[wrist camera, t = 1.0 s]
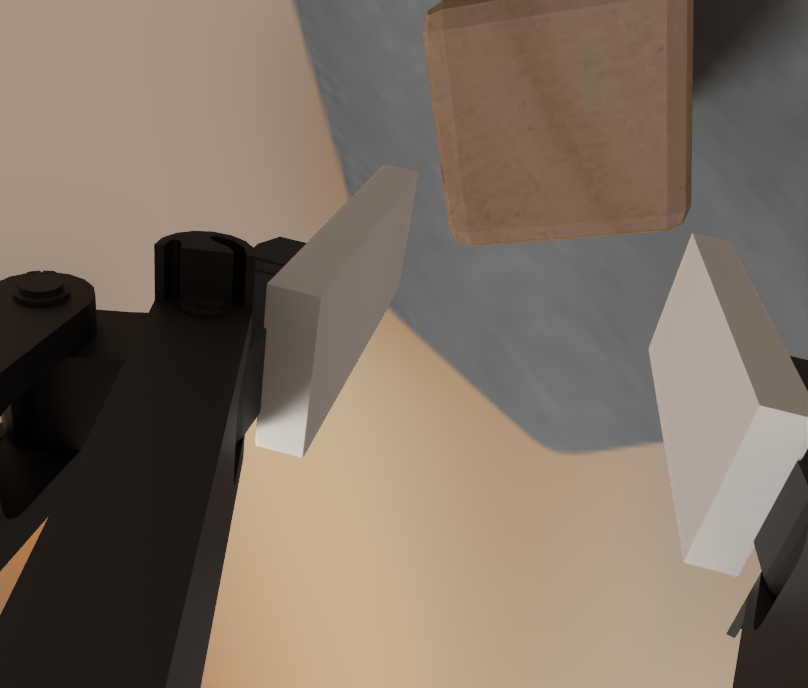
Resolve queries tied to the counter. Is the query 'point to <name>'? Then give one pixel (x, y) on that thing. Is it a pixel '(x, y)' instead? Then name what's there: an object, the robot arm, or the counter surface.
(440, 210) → the counter surface
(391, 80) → the counter surface
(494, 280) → the counter surface
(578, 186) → the wooden block
